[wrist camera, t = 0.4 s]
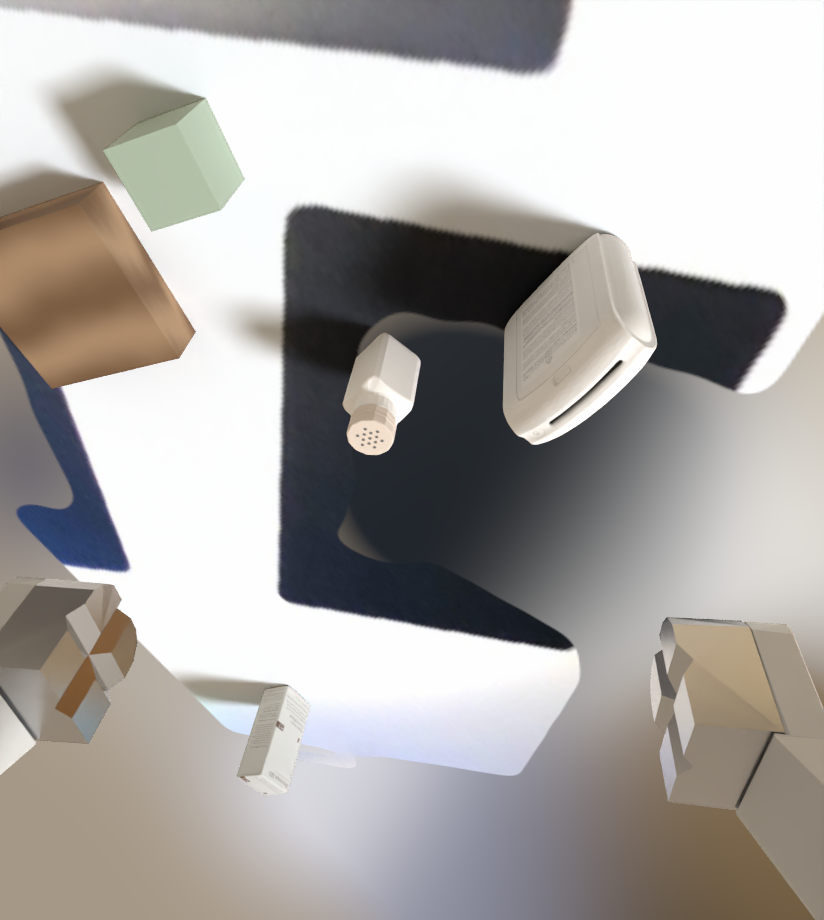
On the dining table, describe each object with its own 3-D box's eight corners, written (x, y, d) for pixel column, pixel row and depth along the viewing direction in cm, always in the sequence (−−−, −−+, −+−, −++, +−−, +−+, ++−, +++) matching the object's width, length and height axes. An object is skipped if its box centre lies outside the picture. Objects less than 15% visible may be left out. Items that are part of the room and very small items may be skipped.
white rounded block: (539, 357, 50) (545, 471, 41) (495, 327, 49) (492, 438, 40) (645, 256, 44) (679, 364, 35) (597, 218, 43) (621, 321, 34)
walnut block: (-29, 226, 48) (-63, 251, 45) (105, 179, 45) (77, 204, 42) (75, 359, 56) (52, 388, 53) (197, 329, 52) (179, 358, 49)
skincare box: (312, 704, 94) (291, 794, 85) (286, 708, 95) (263, 797, 87) (287, 683, 90) (263, 775, 81) (261, 687, 92) (234, 778, 83)
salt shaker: (392, 387, 54) (374, 468, 47) (352, 357, 52) (329, 437, 45) (424, 357, 51) (411, 438, 44) (384, 326, 50) (364, 405, 43)
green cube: (138, 122, 42) (102, 150, 38) (206, 97, 40) (176, 123, 37) (180, 199, 45) (151, 231, 41) (244, 178, 43) (221, 210, 40)
